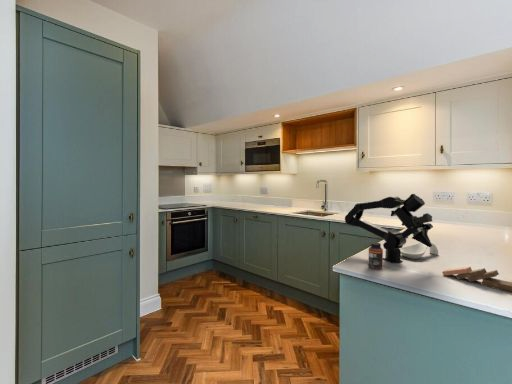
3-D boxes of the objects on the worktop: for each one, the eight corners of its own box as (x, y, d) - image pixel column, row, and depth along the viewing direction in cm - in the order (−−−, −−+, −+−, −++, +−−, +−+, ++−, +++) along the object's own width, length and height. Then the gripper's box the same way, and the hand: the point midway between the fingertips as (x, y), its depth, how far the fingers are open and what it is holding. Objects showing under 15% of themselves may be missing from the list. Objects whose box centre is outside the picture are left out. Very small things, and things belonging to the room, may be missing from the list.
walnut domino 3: (482, 279, 108) (513, 286, 100) (487, 276, 111) (517, 283, 103) (482, 283, 108) (513, 291, 100) (487, 280, 111) (517, 288, 103)
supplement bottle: (378, 265, 130) (379, 241, 130) (384, 270, 124) (385, 244, 124) (365, 265, 130) (366, 241, 129) (371, 270, 124) (372, 244, 123)
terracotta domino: (442, 271, 119) (465, 268, 112) (447, 269, 122) (470, 266, 115) (443, 275, 118) (467, 272, 111) (448, 273, 121) (472, 270, 114)
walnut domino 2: (467, 277, 111) (493, 272, 105) (471, 275, 114) (496, 269, 108) (469, 281, 111) (495, 276, 104) (473, 279, 114) (499, 274, 108)
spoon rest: (414, 262, 138) (414, 247, 137) (393, 255, 148) (394, 242, 148) (444, 257, 147) (445, 243, 147) (423, 251, 158) (424, 238, 158)
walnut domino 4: (481, 282, 108) (512, 290, 101) (483, 279, 111) (514, 286, 105) (480, 286, 108) (512, 294, 101) (483, 283, 112) (514, 290, 105)
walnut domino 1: (455, 275, 114) (480, 270, 108) (460, 273, 117) (484, 268, 111) (457, 279, 114) (482, 274, 107) (462, 276, 117) (486, 272, 110)
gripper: (409, 209, 122) (436, 239, 114) (429, 206, 133) (455, 233, 125) (391, 224, 129) (415, 253, 121) (411, 220, 140) (434, 247, 132)
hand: (430, 246), depth 124 cm, fingers closed
